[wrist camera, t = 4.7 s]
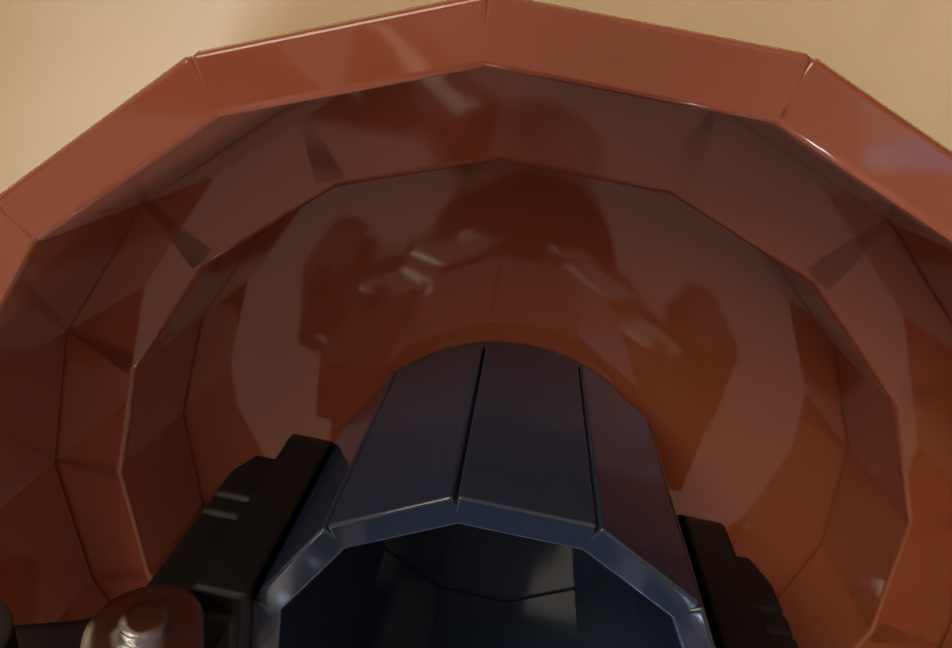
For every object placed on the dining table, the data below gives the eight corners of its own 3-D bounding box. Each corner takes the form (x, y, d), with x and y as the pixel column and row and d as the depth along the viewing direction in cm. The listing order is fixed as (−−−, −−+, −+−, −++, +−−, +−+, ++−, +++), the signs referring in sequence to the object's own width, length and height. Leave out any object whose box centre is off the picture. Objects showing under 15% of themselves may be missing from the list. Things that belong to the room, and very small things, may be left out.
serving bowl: (1, 470, 14) (-224, 644, 10) (448, -252, 8) (354, -565, 4) (526, 804, 17) (521, 1044, 13) (1126, 449, 11) (1468, 680, 7)
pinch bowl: (335, 559, 14) (244, 783, 9) (363, 304, 11) (256, 455, 7) (611, 618, 14) (642, 869, 9) (702, 373, 11) (802, 569, 7)
